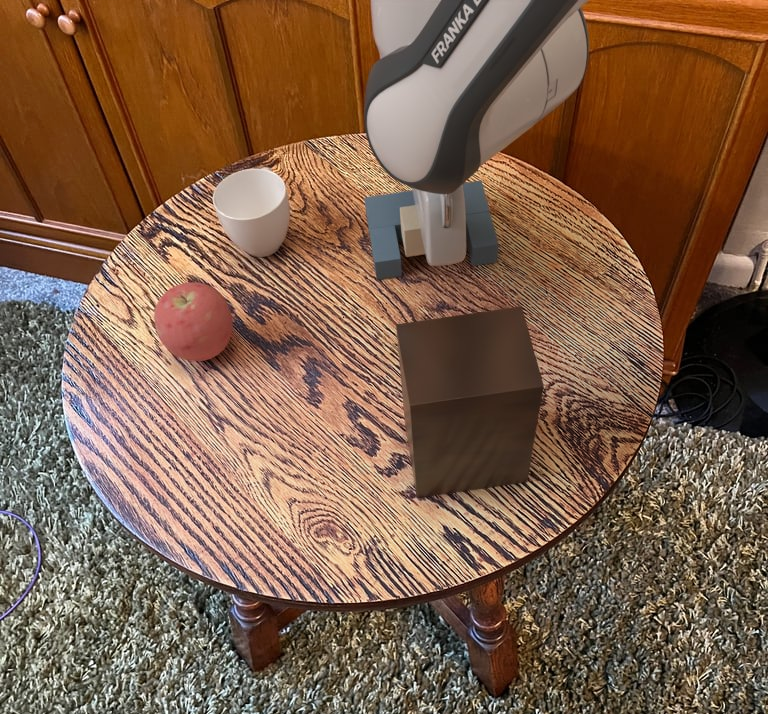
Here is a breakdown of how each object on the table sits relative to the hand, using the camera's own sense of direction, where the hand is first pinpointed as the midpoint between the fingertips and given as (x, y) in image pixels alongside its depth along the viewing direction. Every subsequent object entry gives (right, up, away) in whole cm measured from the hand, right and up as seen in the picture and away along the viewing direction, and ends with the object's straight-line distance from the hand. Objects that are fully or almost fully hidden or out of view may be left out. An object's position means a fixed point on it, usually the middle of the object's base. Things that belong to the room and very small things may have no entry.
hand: (432, 234), depth 81 cm
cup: (-18, +2, +6) cm, 19 cm away
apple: (-23, -12, -1) cm, 26 cm away
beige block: (0, 0, +1) cm, 1 cm away
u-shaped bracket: (0, +1, +4) cm, 4 cm away
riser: (+2, -24, -10) cm, 26 cm away
